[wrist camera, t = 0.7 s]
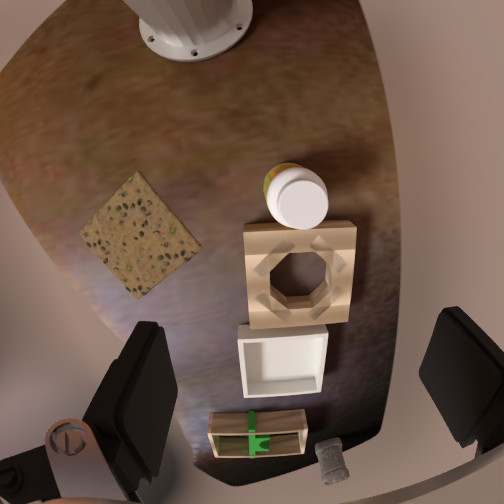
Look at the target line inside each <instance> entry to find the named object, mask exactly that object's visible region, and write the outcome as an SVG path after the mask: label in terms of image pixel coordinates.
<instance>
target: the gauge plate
mask: <svg viewBox="0 0 504 504" xmlns="http://www.w3.org/2000/svg"><path fill="white" fill-rule="evenodd" d="M356 232H357V227H356V226H355V225H354V224H352V223H351V222H350V221H349V220H329V221H322V222H321V223H319V224H318V225H317V226H315V227H313V228H310V229H306V230H300V229H295V228H290V227H287V226H284V225H282V224H281V223H260V224H244V232H243V233H244V248H245V263H246V277H247V292H248V306H249V321H250V329H266V328H282V327H296V326H308V325H319V324H330V323H339V322H348V316H349V308H350V300H351V291H352V282H353V271H354V260H355V247H356ZM297 252H316V253H317V254H319V255H320V256H321V257H322V258H323V259H324V260H325V261H326V276H325V280H324V281H323V282H322V283H321V284H320V285H319V286H318V287H317V288H316V289H315V290H314V291H312V292H311V293H310V294H309V295H304V296H290V297H285V296H284V295H283V294H282V293H280V292H279V291H278V290H277V289H275V288H274V287H273V286H272V285H270V271H271V270H272V269H273V268H274V267H275V266H276V265H277V264H278V263H279V262H280V261H281V260H282V259H283V258H284V257H285V256H286V255H287V254H288V253H297Z"/></svg>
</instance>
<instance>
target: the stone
mask: <svg viewBox="0 0 504 504" xmlns="http://www.w3.org/2000/svg"><path fill="white" fill-rule="evenodd" d="M315 450H316V454H317V456H318V460H319V464H320V468H321V478H322V481H323V483H324V484H326V485H331V484H334V483H337V482H340V481H343V480H346V479H348V477H349V471H348V469H347V468H346V466H345V462H344V459H343V455H342V442H341V440H340V438H338V437H334V438H331V439H327V440H324V441H321V442H319V443H317V444H316V445H315Z"/></svg>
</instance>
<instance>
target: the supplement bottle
mask: <svg viewBox="0 0 504 504" xmlns="http://www.w3.org/2000/svg"><path fill="white" fill-rule="evenodd" d="M264 195H265V198H266V202H267V205H268V208H269V210H270V212H271V214H272V216H273V217H274V218H275V219H276V220H277V221H278V222H279V223H281V224H282V225H284V226H287V227H290V228H295V229H300V230H306V229H310V228H313V227H315V226H317V225H318V224H319V223H321V222H322V220H323V219H324V218H325V216H326V214H327V211H328V194H327V189H326V187H325V184H324V183H323V181H322V180H321V178H320V177H319V176H318V175H316V174H315V173H314V172H312V171H310V170H308V169H306V168H304V167H302V166H300V165H298V164H295V163H282V164H279V165H277V166H275V167H274V168H272V169H271V170H270V171H269V172H268V174H267V176H266V178H265V180H264Z"/></svg>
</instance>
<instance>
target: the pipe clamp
mask: <svg viewBox="0 0 504 504" xmlns="http://www.w3.org/2000/svg"><path fill="white" fill-rule="evenodd" d="M248 429H249V433H252V432H255V411H248ZM269 440H270V434H264V435H249V454H250V455H255V451H269ZM250 458H255V457H250Z"/></svg>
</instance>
